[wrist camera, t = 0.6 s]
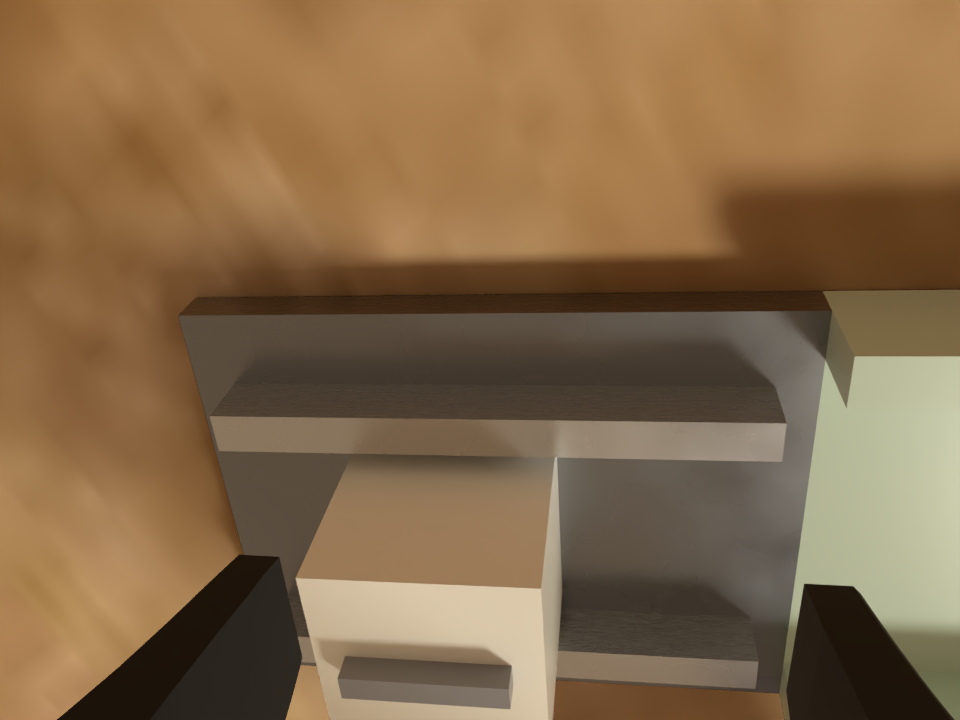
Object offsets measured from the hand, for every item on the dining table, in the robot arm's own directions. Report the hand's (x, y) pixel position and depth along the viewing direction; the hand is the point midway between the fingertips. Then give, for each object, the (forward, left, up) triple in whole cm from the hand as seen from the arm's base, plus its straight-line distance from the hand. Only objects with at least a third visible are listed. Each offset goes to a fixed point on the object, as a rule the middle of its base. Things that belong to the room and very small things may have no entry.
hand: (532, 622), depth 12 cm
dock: (-5, +2, -10) cm, 11 cm away
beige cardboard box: (-5, +3, -9) cm, 11 cm away
